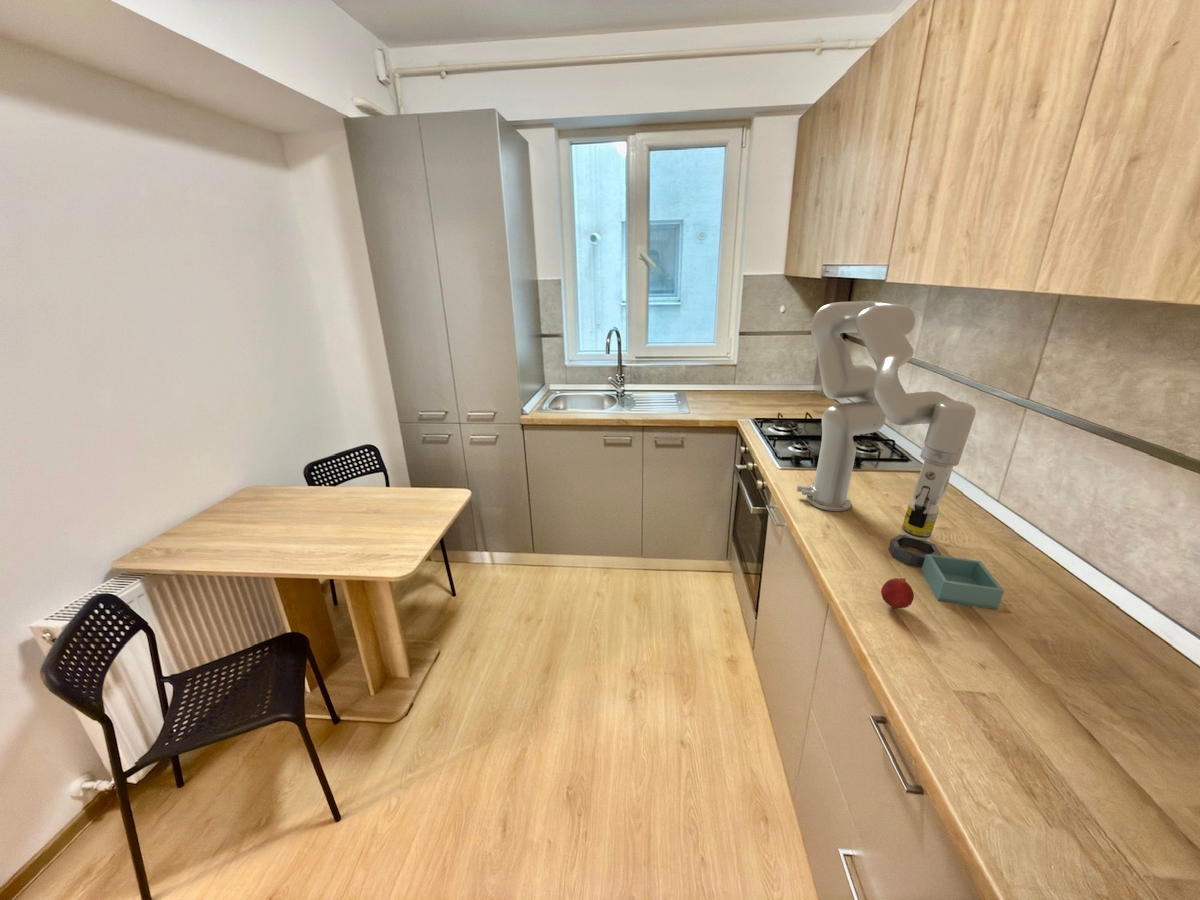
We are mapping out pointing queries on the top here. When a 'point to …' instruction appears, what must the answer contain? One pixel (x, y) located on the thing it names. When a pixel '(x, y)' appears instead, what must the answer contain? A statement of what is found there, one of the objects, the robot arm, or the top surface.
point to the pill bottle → (928, 526)
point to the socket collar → (907, 556)
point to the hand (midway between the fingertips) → (919, 519)
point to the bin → (961, 581)
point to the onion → (897, 593)
